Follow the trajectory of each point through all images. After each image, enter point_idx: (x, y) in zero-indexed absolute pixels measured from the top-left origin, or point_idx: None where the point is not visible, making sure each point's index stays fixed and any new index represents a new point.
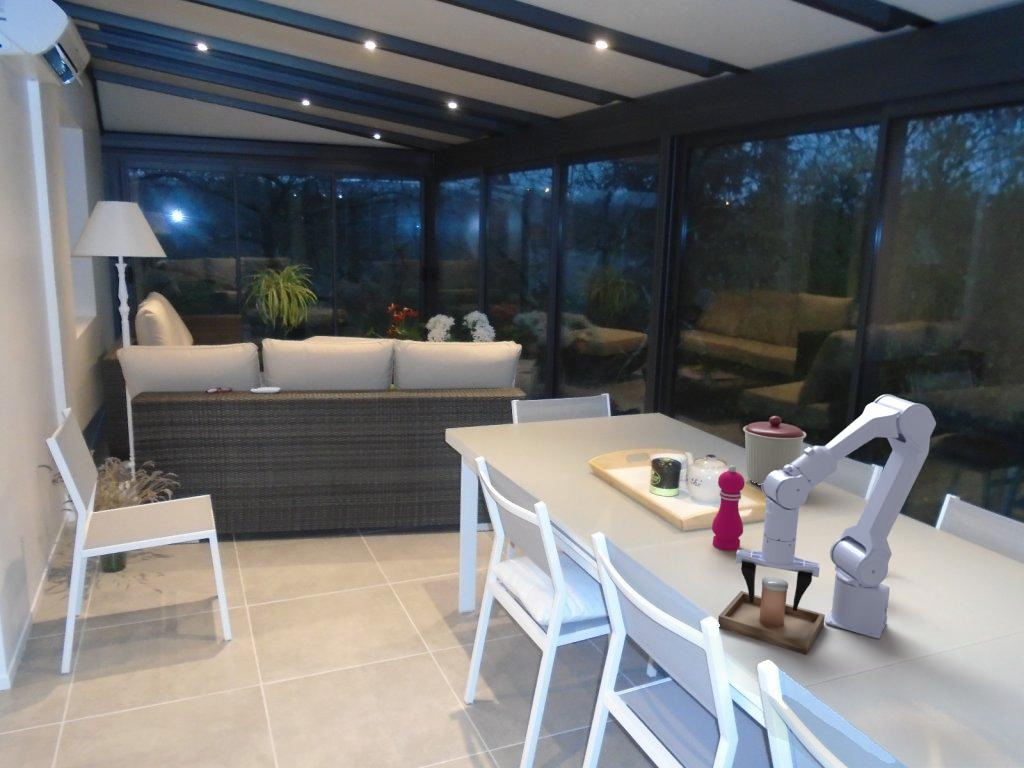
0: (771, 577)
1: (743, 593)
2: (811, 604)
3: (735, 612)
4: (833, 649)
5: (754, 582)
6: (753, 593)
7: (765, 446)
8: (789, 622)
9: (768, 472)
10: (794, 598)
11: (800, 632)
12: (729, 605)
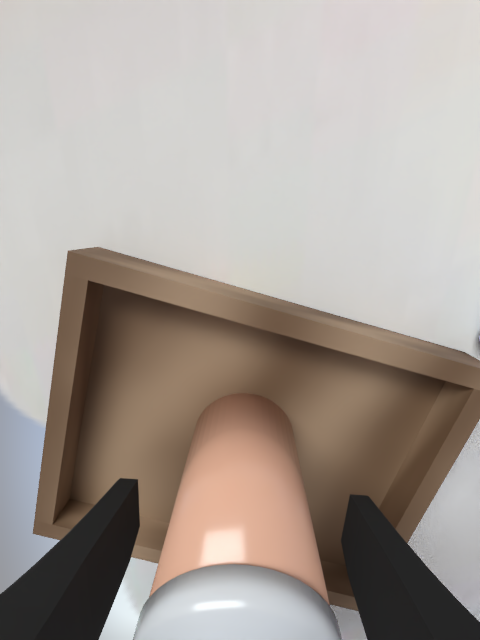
0: (201, 624)
1: (87, 280)
2: (461, 133)
3: (95, 411)
4: (451, 511)
5: (84, 577)
6: (114, 590)
7: None
8: (317, 419)
9: None
10: (368, 583)
11: (352, 480)
12: (50, 438)
